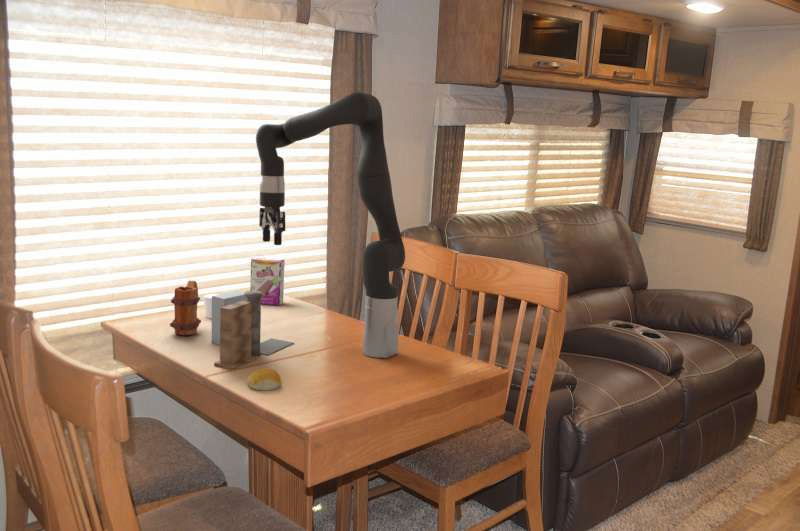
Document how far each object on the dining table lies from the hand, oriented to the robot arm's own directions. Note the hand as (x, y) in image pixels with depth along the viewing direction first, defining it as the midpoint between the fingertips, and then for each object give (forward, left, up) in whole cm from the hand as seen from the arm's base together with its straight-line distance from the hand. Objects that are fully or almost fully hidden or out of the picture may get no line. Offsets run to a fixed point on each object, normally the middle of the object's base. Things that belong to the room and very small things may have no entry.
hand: (272, 243), depth 232 cm
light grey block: (0, +17, -28) cm, 32 cm away
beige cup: (+24, +1, -28) cm, 37 cm away
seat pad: (-13, +14, -28) cm, 34 cm away
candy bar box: (+24, -24, -28) cm, 44 cm away
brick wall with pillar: (-15, +28, -28) cm, 42 cm away
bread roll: (-34, +38, -28) cm, 58 cm away
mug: (+16, +19, -28) cm, 37 cm away
